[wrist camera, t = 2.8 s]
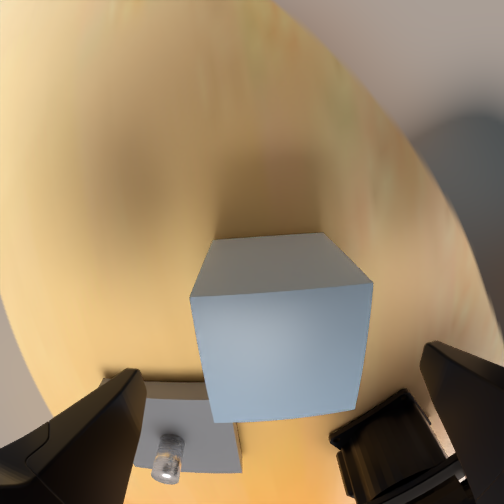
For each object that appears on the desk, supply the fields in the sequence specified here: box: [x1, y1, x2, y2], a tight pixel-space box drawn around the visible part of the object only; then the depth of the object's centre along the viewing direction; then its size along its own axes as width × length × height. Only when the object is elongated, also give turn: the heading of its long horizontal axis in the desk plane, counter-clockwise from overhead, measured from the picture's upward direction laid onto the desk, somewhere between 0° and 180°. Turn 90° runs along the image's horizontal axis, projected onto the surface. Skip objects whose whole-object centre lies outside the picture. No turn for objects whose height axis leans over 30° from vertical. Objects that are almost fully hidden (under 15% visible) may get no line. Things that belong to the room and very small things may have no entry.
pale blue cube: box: [189, 233, 373, 423], centre depth 11 cm, size 5×5×6 cm
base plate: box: [98, 378, 242, 484], centre depth 15 cm, size 8×8×4 cm
